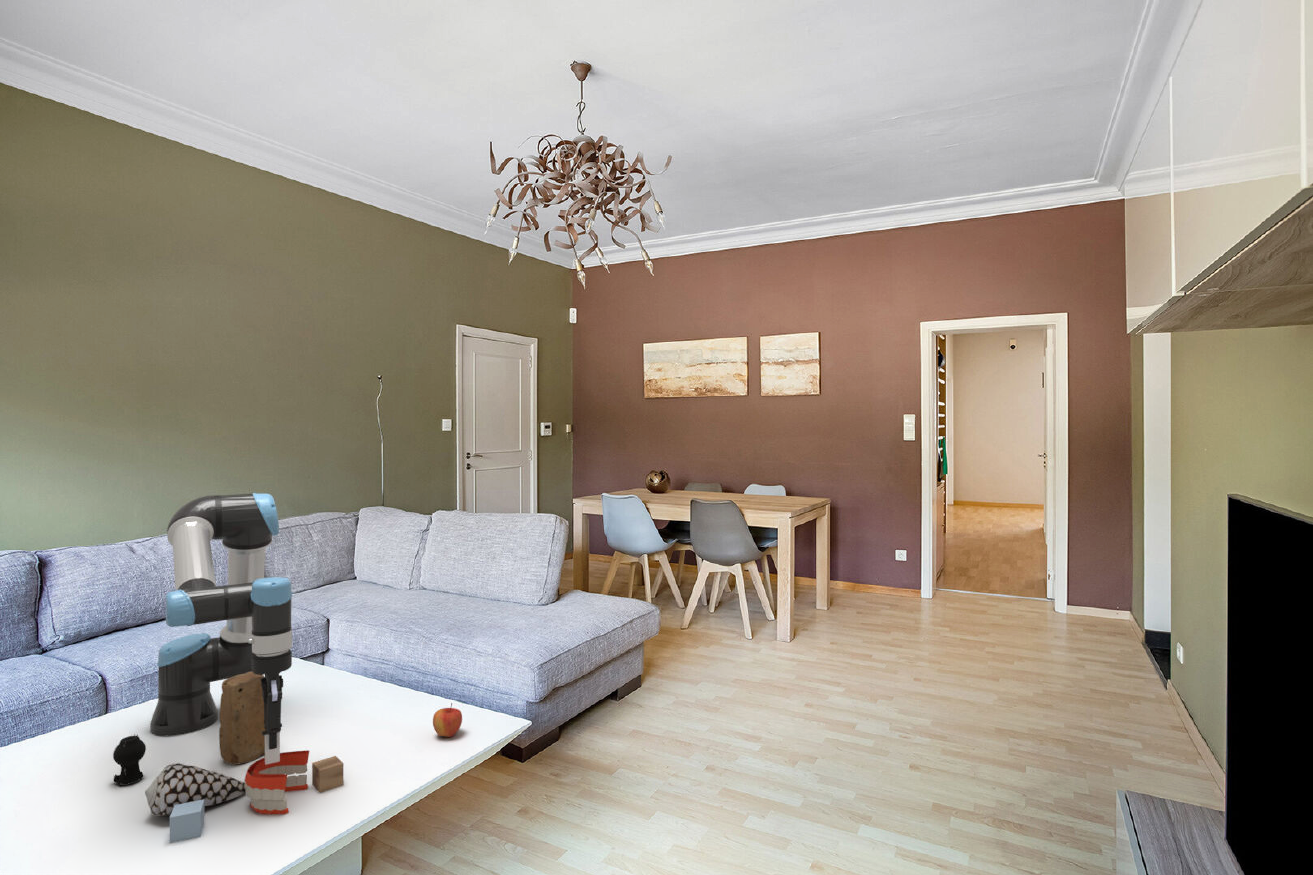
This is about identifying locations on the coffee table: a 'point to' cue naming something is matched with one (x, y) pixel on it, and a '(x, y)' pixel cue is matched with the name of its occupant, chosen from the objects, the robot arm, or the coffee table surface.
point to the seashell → (190, 788)
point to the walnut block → (327, 774)
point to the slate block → (187, 821)
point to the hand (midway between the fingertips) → (272, 761)
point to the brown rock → (242, 719)
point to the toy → (276, 781)
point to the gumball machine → (129, 760)
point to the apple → (447, 721)
